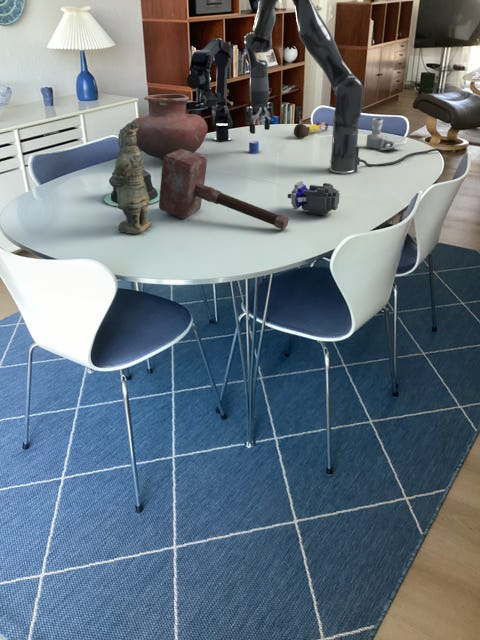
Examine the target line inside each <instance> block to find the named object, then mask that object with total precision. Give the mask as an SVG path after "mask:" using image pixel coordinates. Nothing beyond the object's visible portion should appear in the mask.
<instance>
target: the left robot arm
mask: <svg viewBox="0 0 480 640" xmlns="http://www.w3.org/2000/svg"><path fill="white" fill-rule="evenodd" d="M233 58H234V50H233V48H232V47H231V45H230V44H228V43H226V42H225V40H223V38H212V39H210V41H209V42H208V43H207V45H205V47H203V48H202V49H199V50H196V51H194V52H193V53H192V56H191V59H190V64H189V69H188V71H189V72H190V73H189V74H188V75H187V78H186V84H187V86H188V87H189V89H192V90H195V92H196V98H195V100H194V101H193V100H191V99H190V100H188V101H187V103H186V109H185V112H187V114H195V115H197V109H196V107H204V106H205V107H206V108H211V109H210V114H209V119H210V125H211V127H212V128H213V127H215V137H214V138H213V140H214V141H216V142H220V143H221V142H228V141H232V138H230V137H229V128H232V127H233V120H232V116H231V114H230V108H229V107H228V105H227V90H228V88H227V87H228V70H229V68H230V66H231V64H232V63H233ZM213 63H214V65H215V67H216V83H215V92H214V93H213V89H212V87H211V74H210V73H211V67H212V64H213Z"/></svg>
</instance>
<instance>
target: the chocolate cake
mask: <svg viewBox="0 0 480 640" xmlns="http://www.w3.org/2000/svg"><path fill="white" fill-rule="evenodd" d="M113 175H114V171H112V173H111V176H113ZM143 178H144V182H145V184H146V188H147V192H148V195H149V197H150V204H154V203H157V202H159V198H160V188H156V187H154V185H153V182H152V174H151V172H149V171H148V170H146V169H144V168H143ZM103 200H104V202H105V203H106V204H108V205H109V206H115V207H118V202H117V192H116V189H115V188H114V187H112V191H111V193H108V194H107V195H106V196H104V198H103ZM150 204H149V205H150Z"/></svg>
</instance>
